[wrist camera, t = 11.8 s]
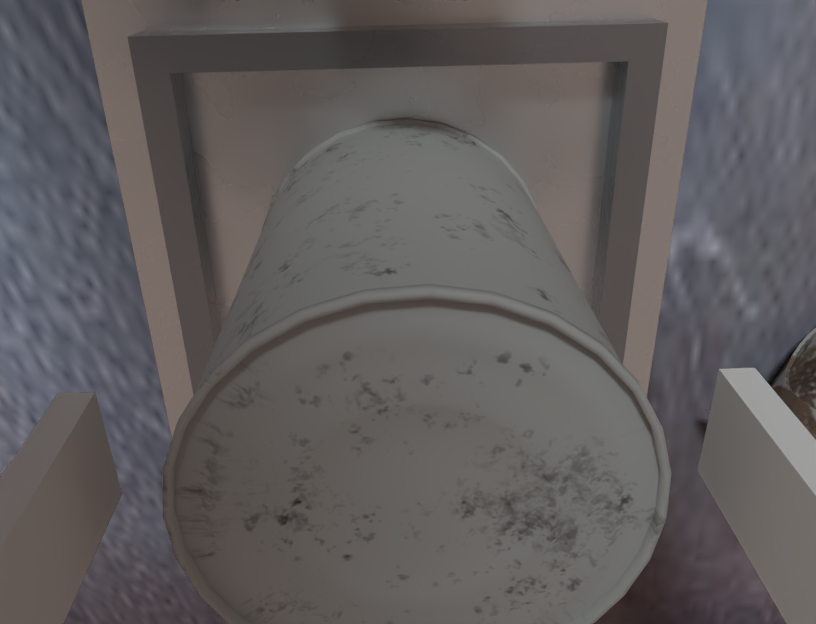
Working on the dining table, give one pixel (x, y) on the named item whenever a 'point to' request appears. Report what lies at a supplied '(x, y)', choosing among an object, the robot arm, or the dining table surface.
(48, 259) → the dining table surface
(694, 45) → the carrier plate
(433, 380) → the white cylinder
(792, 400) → the caster wheel
